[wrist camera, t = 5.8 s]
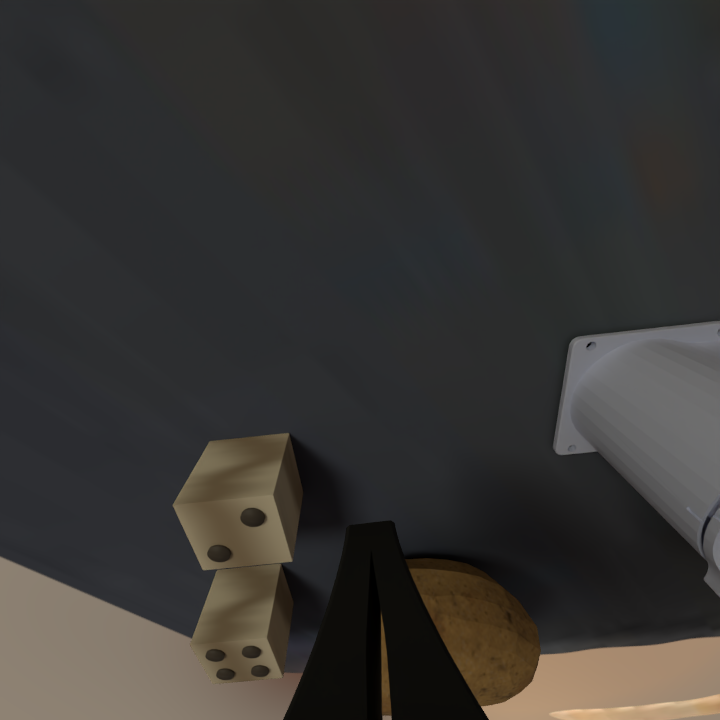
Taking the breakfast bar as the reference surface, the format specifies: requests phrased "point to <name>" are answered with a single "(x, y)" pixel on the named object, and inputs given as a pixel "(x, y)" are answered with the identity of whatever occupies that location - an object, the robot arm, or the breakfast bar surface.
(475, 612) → the potato
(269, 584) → the pip block four
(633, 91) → the breakfast bar surface
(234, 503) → the pip block two
